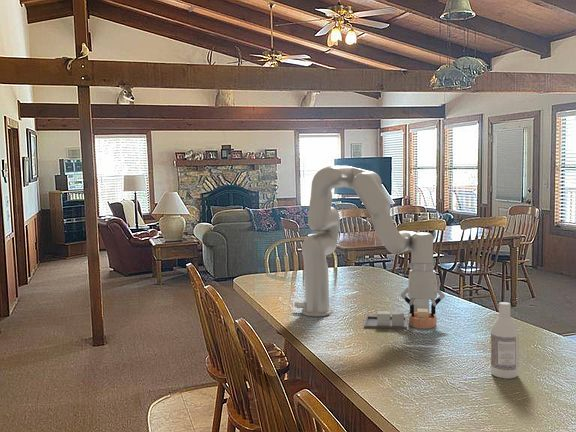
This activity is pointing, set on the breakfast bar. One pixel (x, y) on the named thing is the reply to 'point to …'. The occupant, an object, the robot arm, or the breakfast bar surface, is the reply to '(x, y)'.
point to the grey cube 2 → (397, 318)
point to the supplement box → (421, 304)
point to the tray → (372, 323)
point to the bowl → (422, 321)
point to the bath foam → (504, 344)
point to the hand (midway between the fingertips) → (422, 315)
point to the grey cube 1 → (383, 318)
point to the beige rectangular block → (422, 313)
